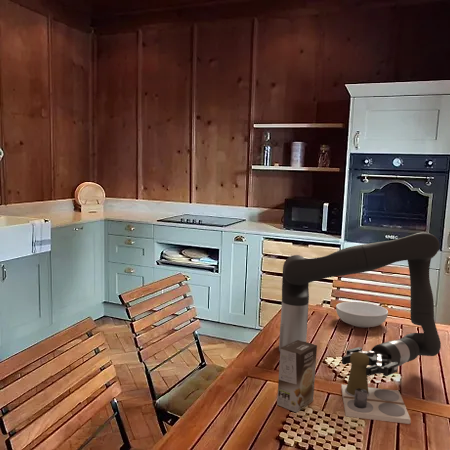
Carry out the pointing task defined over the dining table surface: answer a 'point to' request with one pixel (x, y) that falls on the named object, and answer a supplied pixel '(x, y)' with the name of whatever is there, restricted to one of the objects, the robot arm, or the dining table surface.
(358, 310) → the serving bowl
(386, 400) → the board
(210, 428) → the dining table surface
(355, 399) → the pin
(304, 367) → the coffee box
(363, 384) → the pepper mill
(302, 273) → the robot arm
